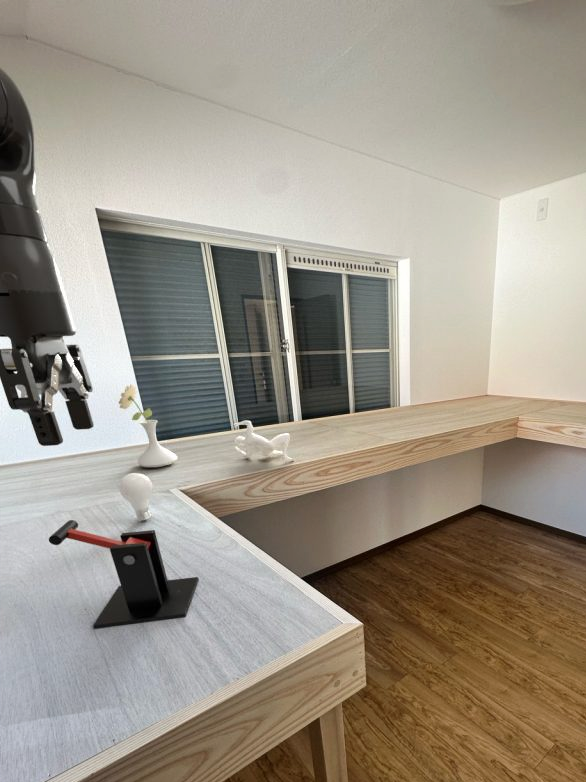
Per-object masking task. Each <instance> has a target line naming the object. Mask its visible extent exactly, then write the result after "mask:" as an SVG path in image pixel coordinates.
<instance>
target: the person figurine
mask: <svg viewBox="0 0 586 782" xmlns="http://www.w3.org/2000/svg"><path fill="white" fill-rule="evenodd" d="M240 425H241V426H242V425H244V426H246V430H245V436H236V437H235V438H234V443H235V444H236V445H238V446H243V447H244V448H245V451H244V450H241V448H239V447H238V446H233V450H234V451H235V452H238V454H240V455H241V456H242V457H243V458H244V459H246V458H247V459H249V458H252V457H253V456H254V454H255V453H257V452H258V453H259V455H261V456H263V457H271V456H276V455H281V459H282V460H287V461H292V460H291V459H292V458H291V457H289V456H288V454H287V449H288V446H289V444H290V439H291V434H290V433H281V434H277V435H276V436H275V437H273V438H272V439H270V440H268V439H267V438H265V437H263V436H261V435H258V434H256V433H254V426H253V424H252V421H251V420H247V419H246V420H242V421H239V422H233V426H234V427H237V426H240ZM280 447H281V450H276V449H278V448H280Z"/></svg>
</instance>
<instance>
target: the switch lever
mask: <svg viewBox="0 0 586 782" xmlns="http://www.w3.org/2000/svg"><path fill="white" fill-rule="evenodd" d="M78 527H79V523H78V522H77V521H76V520H74V519H69V520H67V521H66V522H65V523H64V524H63V525H62V526H61V527H59V528H58V529H57V530H56V531H55V532H54V533H52V534H51V535H50V536H49V537H48V541H49V543H50V544H51V545H54V546H59V545H61V544H62V543H63V542H64V541H65V540H66V539H69V540H73V541H78V542H82V543H86V544H88V545H89V544H90V545H93V546H98V547H102V548H105V549H110V548H111V547H112V546H115V545H125V544H135V543H147V547H148V550H149V547H150V543H151V542H147V541H144V540H140V539H136V538H132V537H130V538H129V539H128V540H127V542H122V541H121V540H117V539H114V538H110V537H106V536H102V535H97V534H94V533H90V532H86V531H82V530H79V529H78Z"/></svg>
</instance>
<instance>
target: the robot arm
mask: <svg viewBox="0 0 586 782" xmlns="http://www.w3.org/2000/svg"><path fill="white" fill-rule="evenodd" d="M35 147H36V146H35V130H34V124H33V119H32V116H31V112H30V110H29V107H28V104H27V102H26V100H25V98H24V96H23V94H22V93H21V90H20V89H19V87H18V85H17V84H16V82H15V81H14V80H13V79H12V77H11V76H10V75H9V74H8V73H7V72H6V70H4V69H3V68H2V67H1V66H0V338H8V339H9V340H10V344H11V348H0V382H1V385H2V388H3V391H4V394H5V397H6V400H7V403H8V407H9V408H10V409H11V410H13V411H16V410H17V411H18V410H19V411H22V412H23V413H26V414H27V415H28V417H29V420H30V422H31V425H32V428H33V431H34V434H35V437H36V440H37V441H38V445H40V446H42V447H46V446H47V447H52V446H59V445H61V444H63V442H64V438H63V435H62V432H61V430H60V427H59V423H58V420H57V417H56V414H55V411H53V399H54V396H55V395H56V394H57V393H60V394H61V396H62V398H63V399H64V400H65V401H64V402H65V406H66V409H67V412H68V415H69V418H70V421H71V425H72V427H73V429H75V430H90V429H92V428H94V425H95V423H94V421H93V417H92V414H91V411H90V408H89V407H90V406H89V403H88V401H87V400H88V399H89V393H92V392H93V390H94V389H93V388H94V387H93V385H92V381H91V378H90V376H89V372H88V369H87V365H86V361H85V359H84V355H83V352H82V349H81V347H80V345H78V344H66V343H65V341H64V338H63V337H73V336H75V335H76V332H77V330H76V326H75V322H74V319H73V316H72V312H71V308H70V305H69V302H68V298H67V294H66V291H65V287H64V283H63V280H62V277H61V274H60V270H59V267H58V264H57V262H56V260H55V257H54V255H53V253H52V250H51V247H50V245H49V240H48V237H47V234H46V230H45V227H44V223H43V219H42V216H41V213H40V210H39V207H38V204H37V198H36V175H37V174H36V150H35V149H36V148H35ZM17 390H18V391H20V396H19V393H18V391H17Z"/></svg>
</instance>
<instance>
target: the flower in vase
mask: <svg viewBox="0 0 586 782" xmlns="http://www.w3.org/2000/svg"><path fill="white" fill-rule="evenodd" d="M136 394H137V388H136V386H134V385H133V384H132V383H131V384H129V385H126V387H125V388H124V392H122V393H120V396H121V397H120V399H119V401H118V405H119V408H120V409H123V410H127V409H128V408H129V407H130V406H131V405H132V404H133V403H134V404H135V406H136V407H137V409H138V411H137V412H135V413H134V414H133V415H132V418H131V420H132V421H138V420H140V418H141V416H143V419H144V420H141V421H139V422H138V423H139V424H140V425H141V426H142V427H143V429H144V430H145V433H146V435H147V439H148V447H147V448H146V449H145V450H144V451H143V452H142V453H141V455H139V456H138V459H137V460H136V463H137V465H139V466H140V467H144V468H160V467H165V466H169V465H171V464H173V463H175V462H176V461H178V456H177V455H176V453H174V452H172V451H171V450H169V449H167V448H165V447H163V446H162V445H160V443H159V442H158V439H157V435H156V434H157V433H156V427H157V423H158V420H157V419H147V418H149V417H152V415H153V412H152V410H151V408H150V407H148V408H146V409H145V410H144V411H142V410H141V408H140V406H139V405H138V403H137V402H136V401H135V398H136Z"/></svg>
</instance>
